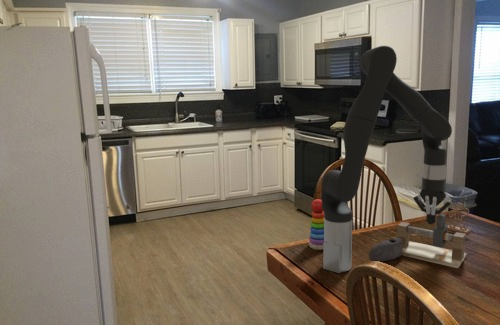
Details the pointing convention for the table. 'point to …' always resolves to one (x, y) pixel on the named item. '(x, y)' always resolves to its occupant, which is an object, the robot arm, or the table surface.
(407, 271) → the table surface
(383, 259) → the perforated stone tool
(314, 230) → the stacking toy
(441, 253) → the pipe stand
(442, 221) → the collar
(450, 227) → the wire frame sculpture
